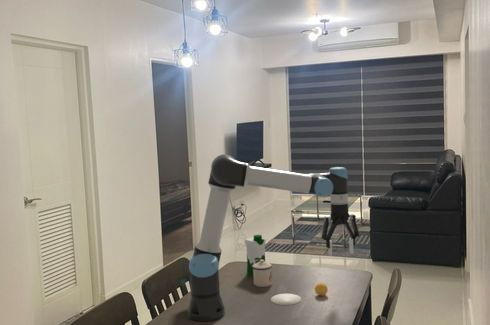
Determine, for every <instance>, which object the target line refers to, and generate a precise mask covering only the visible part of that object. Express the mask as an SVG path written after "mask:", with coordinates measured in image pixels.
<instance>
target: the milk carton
mask: <svg viewBox="0 0 490 325" xmlns="http://www.w3.org/2000/svg"><path fill="white" fill-rule="evenodd" d="M266 240H267V239H266V238H263V236H262V234H256V235H255V234H254V235H253V237H249V238H246V239H244V243H245V247H246V266H247V267H246V275H248V276H251V277H253V265H254V264H256V263H258V262H260V260H264V262H266V249H265V248H266V242H267V241H266Z"/></svg>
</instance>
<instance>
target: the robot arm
mask: <svg viewBox="0 0 490 325" xmlns="http://www.w3.org/2000/svg"><path fill="white" fill-rule="evenodd" d="M328 170H329V171H328V172H322V173H320V172H319V173H318V172H317V173H312V172H311V173H299V172H293V171H292V172H291V171H284V170H279V169H272V168H266V167H265V168H264V167H259V166H253V165H252V166H251V165H250V164H249V163H247V162H242V161H239V160H237V159H236V158H235V157H234V156H232V155H229V154H221V155H217V157H215V158H214V159H213V161H212V162H211V168H210V173H209V178H208V182H207V184H208V185H209V188H210V192H209V196H208V201H207V205H206V208H205V209H206V210H205V215H204V219H203V223H202V228H201V233H200V238H199V242H198V243H196V244H195V245H194V249H193V250H194V251H193V254H192V257H191V258H190V259H189V263H188V271H189V282H190V285H189V286H190V299H189V304H188V308H187V317H188V318H189V319H190V320H192V321H195V322H211V321H216V320H219V319H221V318H222V317H223V316H225V315H226V307H225V305H224V302H223V299H222V297H221V294H220V293H221V292H220V291H221V290H220V275H219V274H220V272H219V268H220V266H219V265H220V260H221V256H222V251H223V250H222V249H221V246H220V243H221V239H222V234H223V229H224V225H225V220H226V216H227V211H228V210H227V209H228V206H229V203H230V202H229V201H230V196H231V193H232V192H233V191H234V190H236V187H244V188H245V187H247V186H255V187H262V188H269V189H273V190H274V189H277V190H281V191H289V192H295V193H304V194H309V195H316V196H318V197H322V198H326V197H328V196H329V197H330V203H331V204H330V216H324V217H323V221H324V223H323V227H322V233H321V239H322V240H323V241H325V246H326V248H327V249H328V251H327V252H328V255H329V256H330V257H332V256H333V241H332V240H331V238H332V237H333V234H334V233H335V232H334V231H335V230H336V228H337V226H339V225H341V226H342V225H344V227H345V228H346V230H347V232H348V234H349V238H348V247H349V253H350V254H353V255H354V246H356V238H358V237H360V233H359V229H358V225H357V222H356V217H357V216H356V215H355V214H354V213H351V214H350V213H349V204H348V203H349V189H348V186H349V185H348V184H349V182H348V180H349V177H348V171H347V168H346V167H342V166H340V167H339V166H335V167H330V168H329V169H328ZM348 220H350V223H351V226H352V228H351V226H350V225H349V224H350V223H349V222H348ZM330 221H331V224H330ZM329 224H330V226H329Z"/></svg>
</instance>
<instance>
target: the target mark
mask: <svg viewBox="0 0 490 325" xmlns="http://www.w3.org/2000/svg"><path fill="white" fill-rule="evenodd" d="M270 301H271V303H273V304H275V305H279V306H292V305H296V304H298V303H300V302H301V301H302V297H301V296H300V295H299V294H298V295H297V294H294V293H280V294H276V295H273V296H272V297H271V298H270Z"/></svg>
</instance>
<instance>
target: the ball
mask: <svg viewBox="0 0 490 325" xmlns="http://www.w3.org/2000/svg"><path fill="white" fill-rule="evenodd" d="M314 292H315V294H317V295H318V296H320V297H321V296H322V297H323V296H325V295H326V294H327V293H328V286H327V284H326V283H323V282H319V283H317V284H316V285H315V287H314Z"/></svg>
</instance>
